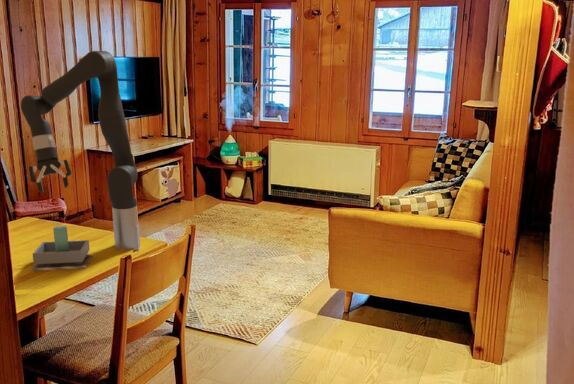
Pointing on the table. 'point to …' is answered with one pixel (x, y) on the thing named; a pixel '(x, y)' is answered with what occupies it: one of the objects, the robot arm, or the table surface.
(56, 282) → the table surface
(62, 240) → the teal rectangular block
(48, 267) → the rail board
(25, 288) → the table surface
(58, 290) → the table surface
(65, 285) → the table surface
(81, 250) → the grey shallow tray
